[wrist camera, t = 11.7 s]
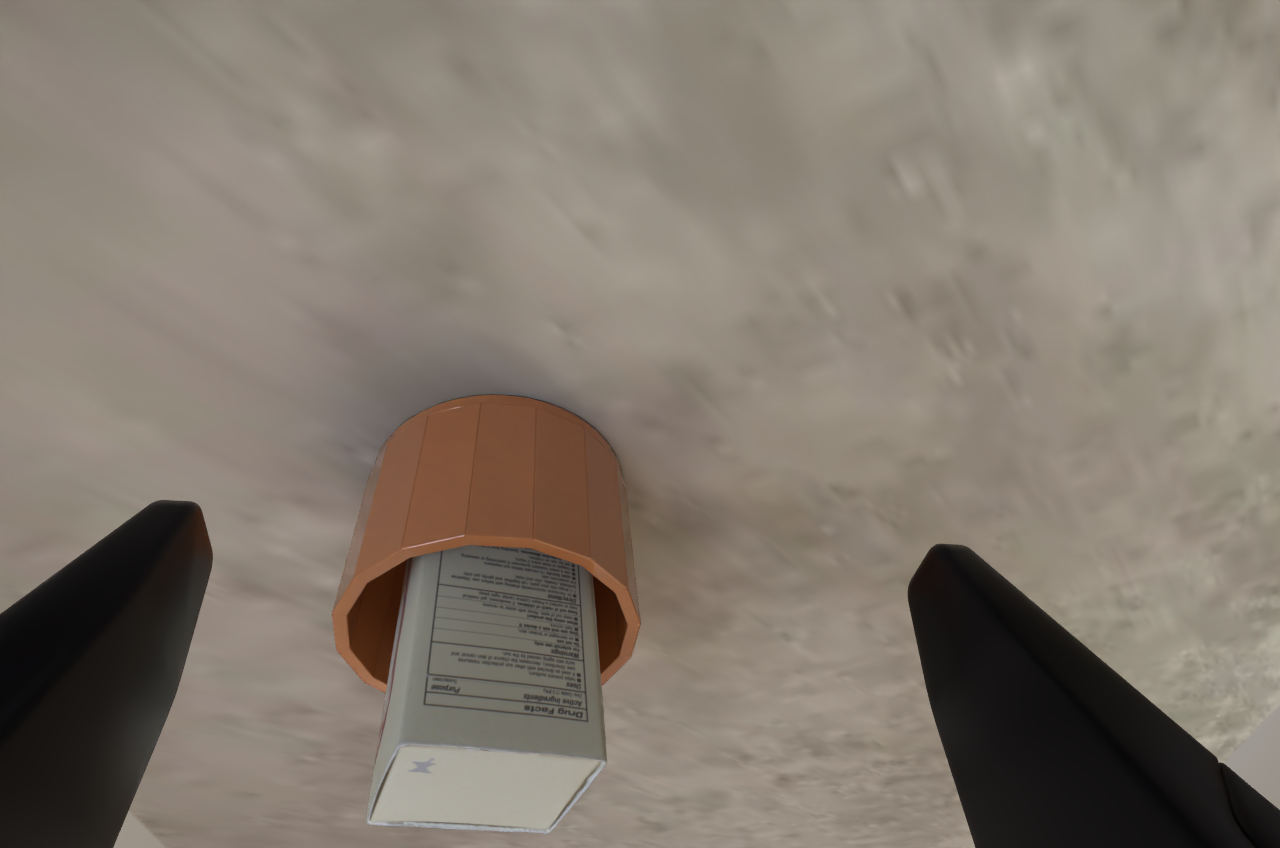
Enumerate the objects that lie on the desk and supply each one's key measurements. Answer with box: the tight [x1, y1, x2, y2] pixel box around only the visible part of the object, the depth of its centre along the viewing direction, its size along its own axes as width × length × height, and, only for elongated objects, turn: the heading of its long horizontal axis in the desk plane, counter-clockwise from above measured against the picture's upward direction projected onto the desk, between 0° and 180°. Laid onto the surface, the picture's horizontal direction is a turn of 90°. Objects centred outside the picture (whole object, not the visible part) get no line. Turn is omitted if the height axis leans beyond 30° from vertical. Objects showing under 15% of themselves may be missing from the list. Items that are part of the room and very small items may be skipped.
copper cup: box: [332, 395, 641, 694], centre depth 24 cm, size 9×9×6 cm
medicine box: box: [367, 545, 607, 834], centre depth 22 cm, size 5×4×10 cm
